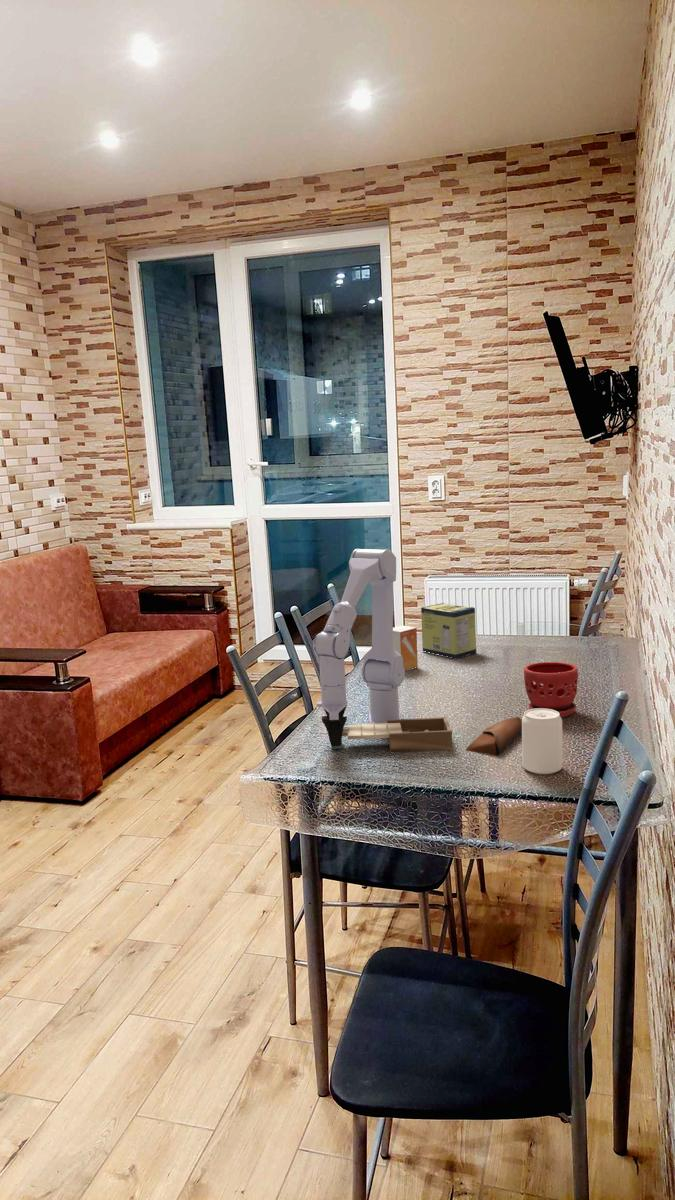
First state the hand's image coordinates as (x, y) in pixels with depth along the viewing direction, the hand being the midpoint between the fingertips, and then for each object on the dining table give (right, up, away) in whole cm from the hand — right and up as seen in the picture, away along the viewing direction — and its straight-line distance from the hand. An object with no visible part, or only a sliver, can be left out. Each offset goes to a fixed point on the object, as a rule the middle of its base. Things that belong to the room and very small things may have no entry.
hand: (336, 740), depth 185 cm
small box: (+21, +11, +66) cm, 70 cm away
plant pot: (+54, +4, +17) cm, 57 cm away
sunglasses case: (+37, -1, 0) cm, 37 cm away
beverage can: (+43, -3, -18) cm, 47 cm away
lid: (+7, -1, 0) cm, 7 cm away
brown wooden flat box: (+19, -1, 0) cm, 19 cm away
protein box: (+38, +14, +84) cm, 93 cm away
